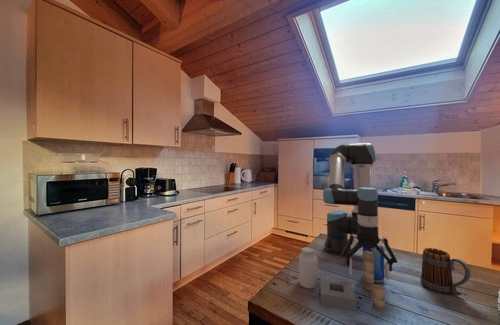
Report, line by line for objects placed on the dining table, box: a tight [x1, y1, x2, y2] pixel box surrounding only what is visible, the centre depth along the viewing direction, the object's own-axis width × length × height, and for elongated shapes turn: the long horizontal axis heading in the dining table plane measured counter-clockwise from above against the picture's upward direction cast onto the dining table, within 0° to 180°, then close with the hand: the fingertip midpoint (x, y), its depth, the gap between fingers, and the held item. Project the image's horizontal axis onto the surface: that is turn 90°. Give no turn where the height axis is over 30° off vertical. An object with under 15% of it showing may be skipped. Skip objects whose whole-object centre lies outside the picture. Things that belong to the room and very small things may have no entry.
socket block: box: [319, 276, 357, 312], centre depth 82 cm, size 12×12×4 cm
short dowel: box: [371, 284, 386, 312], centre depth 76 cm, size 4×4×7 cm
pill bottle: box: [298, 246, 319, 289], centre depth 91 cm, size 8×8×15 cm
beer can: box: [362, 242, 385, 283], centre depth 95 cm, size 8×8×16 cm
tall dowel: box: [362, 250, 375, 293], centre depth 87 cm, size 4×4×15 cm
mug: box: [420, 247, 471, 296], centre depth 85 cm, size 16×11×15 cm
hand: (368, 276), depth 87 cm, fingers open, 13 cm apart
